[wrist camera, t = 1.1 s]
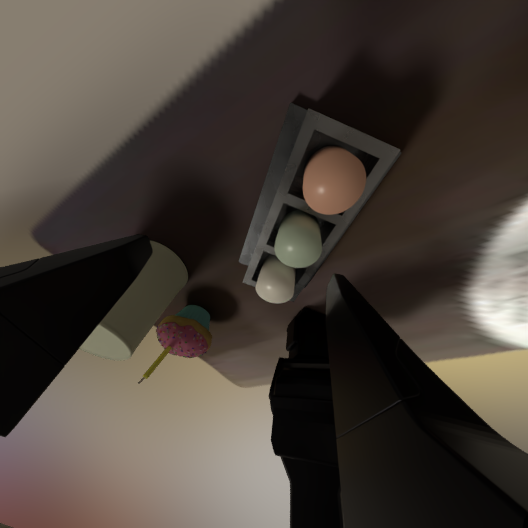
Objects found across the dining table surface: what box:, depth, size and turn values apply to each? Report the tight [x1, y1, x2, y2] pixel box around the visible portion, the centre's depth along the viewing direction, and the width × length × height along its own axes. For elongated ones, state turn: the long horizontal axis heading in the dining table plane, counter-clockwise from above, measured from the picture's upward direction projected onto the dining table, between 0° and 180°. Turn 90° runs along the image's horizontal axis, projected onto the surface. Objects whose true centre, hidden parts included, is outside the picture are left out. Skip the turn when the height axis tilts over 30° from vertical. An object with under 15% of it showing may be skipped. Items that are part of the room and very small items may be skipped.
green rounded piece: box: [274, 210, 322, 268], centre depth 16 cm, size 4×4×4 cm
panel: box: [239, 103, 401, 302], centre depth 18 cm, size 9×16×4 cm, turn 161°
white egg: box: [256, 255, 296, 303], centre depth 19 cm, size 4×4×4 cm
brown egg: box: [303, 145, 366, 215], centre depth 13 cm, size 4×4×4 cm
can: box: [79, 241, 188, 361], centre depth 23 cm, size 9×9×12 cm
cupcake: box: [138, 305, 212, 383], centre depth 28 cm, size 9×8×12 cm
